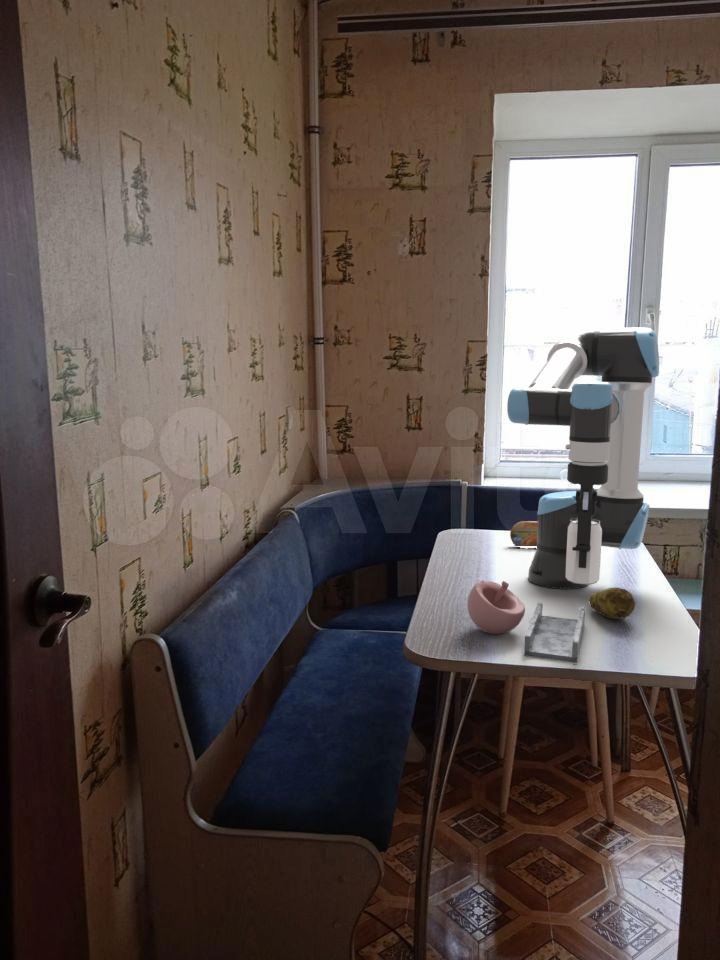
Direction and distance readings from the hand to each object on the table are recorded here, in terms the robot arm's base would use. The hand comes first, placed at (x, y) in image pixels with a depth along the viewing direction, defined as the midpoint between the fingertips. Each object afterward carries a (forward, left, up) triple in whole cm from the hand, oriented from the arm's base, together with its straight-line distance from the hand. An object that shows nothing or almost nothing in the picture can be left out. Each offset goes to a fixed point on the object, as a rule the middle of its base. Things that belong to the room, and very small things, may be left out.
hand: (582, 577), depth 151 cm
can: (0, 0, -1) cm, 1 cm away
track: (-3, -5, -15) cm, 16 cm away
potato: (-20, +6, -15) cm, 26 cm away
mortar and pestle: (-3, -17, -15) cm, 23 cm away
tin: (-79, -18, -15) cm, 83 cm away
